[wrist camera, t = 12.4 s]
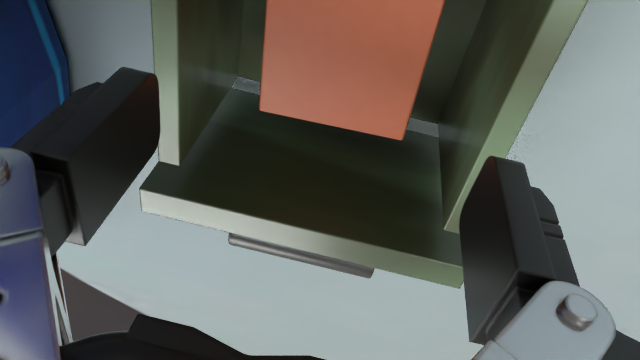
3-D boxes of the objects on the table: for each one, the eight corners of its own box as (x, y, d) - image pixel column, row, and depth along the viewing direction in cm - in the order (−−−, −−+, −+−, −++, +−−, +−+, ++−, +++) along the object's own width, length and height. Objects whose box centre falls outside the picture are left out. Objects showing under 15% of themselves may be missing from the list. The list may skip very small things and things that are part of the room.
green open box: (423, 221, 27) (423, 351, 21) (210, 169, 28) (146, 283, 21) (622, -236, 15) (775, -259, 8) (228, -324, 15) (85, -412, 9)
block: (289, 51, 21) (258, 111, 17) (303, -80, 18) (268, -44, 14) (406, 75, 21) (402, 141, 17) (442, -53, 18) (448, -9, 14)
